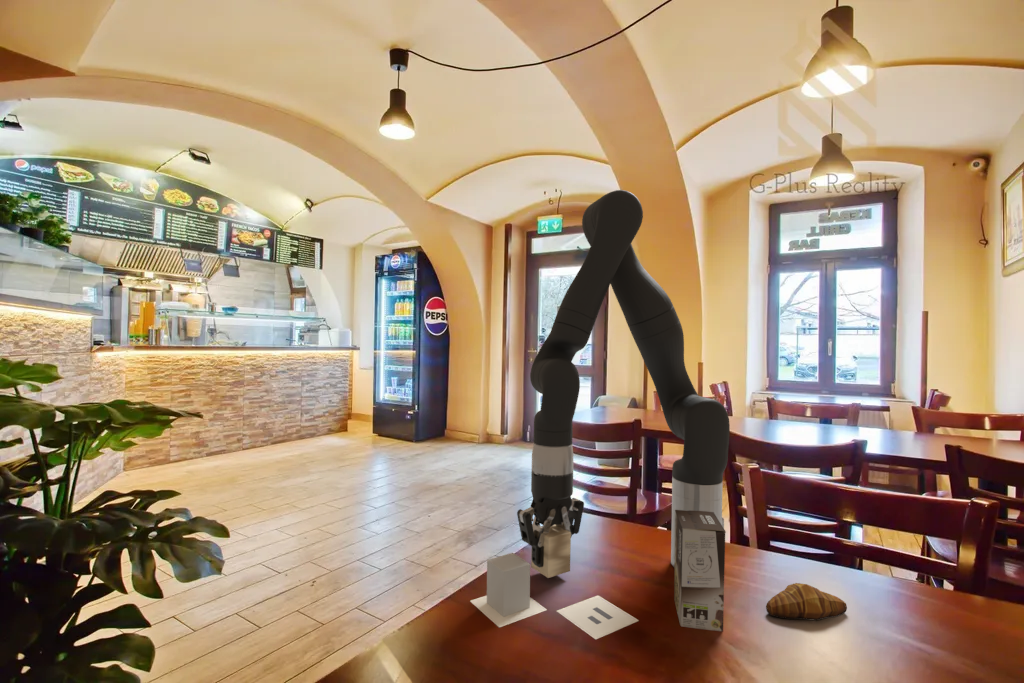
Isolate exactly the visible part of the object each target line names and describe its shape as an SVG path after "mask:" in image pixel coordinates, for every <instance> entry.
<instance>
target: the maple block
mask: <svg viewBox="0 0 1024 683" xmlns="http://www.w3.org/2000/svg"><path fill="white" fill-rule="evenodd" d="M540 526H541V525H540ZM541 527H543V525H542V526H541ZM538 536H539V532H538ZM537 538H538V537H537ZM571 540H572V537H571V532H569V531H567V530H563V529H562V528H561V527H557V526H556V525H553V526H551V527H550V530H549V533H548V534H547V535H545V536H544V543H543V546H544V564H543V567H540V568H539V567H538V566H536V565H535V564H534V563H533V562H532V549H531V556H530V557H531V558H530V559H531V560H530V562H531V563H530V568H532V569H534V570H535V571H537V572H538V573H539V574H541V575H543V576H544V577H545V578H547V579H549V578H553V577H557V576H559V575H561V574H566V573H569V572H571V550H572V549H571V546H572V545H571V544H572V541H571Z"/></svg>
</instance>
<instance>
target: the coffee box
mask: <svg viewBox="0 0 1024 683" xmlns="http://www.w3.org/2000/svg"><path fill="white" fill-rule="evenodd" d="M726 533H727V531H726V529H725V527H724V528H723V526H722V525H721V523H720V522H719V520H718V518H717V517H716V515H715V514H714V512H708V511H690V510H689V511H684V510H675V558H674V567H673V568H674V569H673V570H674V571H673V572H674V574H673V576H674V578H673V579H674V581H673V583H674V584H673V586H674V587H673V589H674V590H673V592H674V594H673V599H674V604H675V608H676V613H677V617H678V621H679V625H680V627H684V628H690V629H697V630H707V631H716V632H723V631H724V615H725V613H724V609H725V608H724V606H725V601H724V600H725V569H726V568H725V564H726V563H725V562H726V558H725V557H726Z"/></svg>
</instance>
